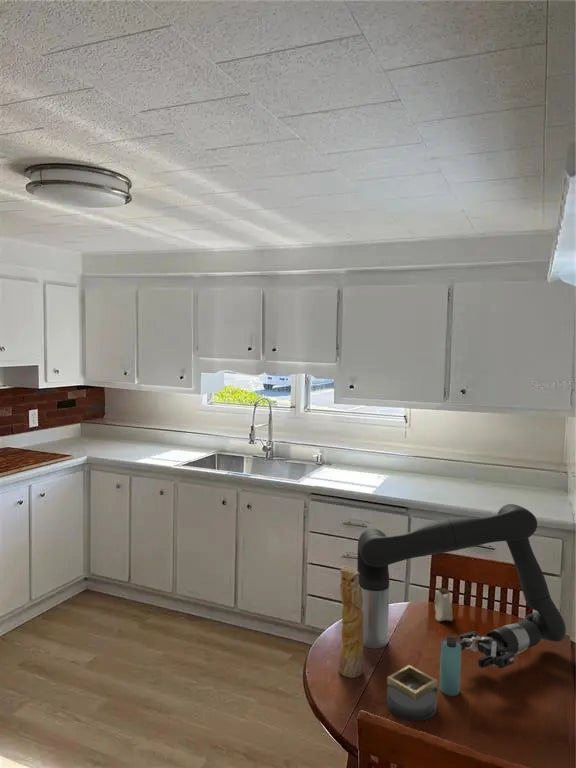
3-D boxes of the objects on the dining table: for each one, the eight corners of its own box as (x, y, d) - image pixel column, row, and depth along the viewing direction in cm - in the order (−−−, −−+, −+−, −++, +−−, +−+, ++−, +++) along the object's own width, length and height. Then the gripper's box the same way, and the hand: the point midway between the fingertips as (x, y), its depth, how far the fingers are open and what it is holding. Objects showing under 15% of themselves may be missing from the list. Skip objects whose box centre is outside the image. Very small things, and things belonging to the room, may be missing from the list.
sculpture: (333, 681, 152) (336, 570, 150) (341, 663, 161) (344, 558, 159) (358, 686, 150) (361, 574, 148) (365, 667, 159) (368, 561, 157)
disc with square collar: (376, 702, 144) (377, 676, 143) (407, 684, 151) (407, 659, 151) (416, 727, 135) (416, 699, 134) (446, 707, 142) (447, 680, 142)
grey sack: (453, 628, 186) (466, 601, 185) (433, 622, 185) (446, 594, 184) (441, 612, 195) (454, 586, 194) (422, 606, 193) (435, 580, 192)
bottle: (435, 688, 150) (437, 636, 149) (446, 682, 153) (449, 630, 152) (452, 698, 146) (454, 644, 145) (463, 690, 149) (465, 638, 148)
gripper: (488, 616, 166) (447, 630, 158) (531, 639, 154) (489, 654, 146) (486, 642, 167) (446, 656, 158) (529, 666, 154) (488, 683, 146)
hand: (466, 655), depth 152 cm, fingers open, 8 cm apart
